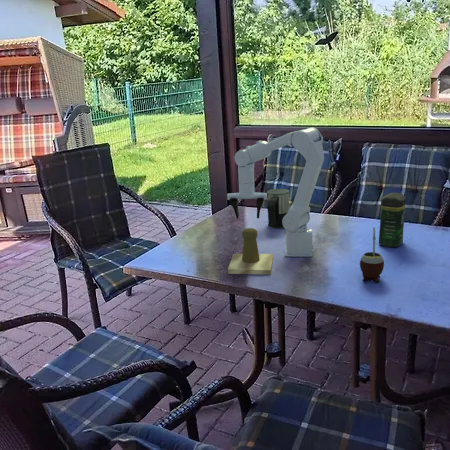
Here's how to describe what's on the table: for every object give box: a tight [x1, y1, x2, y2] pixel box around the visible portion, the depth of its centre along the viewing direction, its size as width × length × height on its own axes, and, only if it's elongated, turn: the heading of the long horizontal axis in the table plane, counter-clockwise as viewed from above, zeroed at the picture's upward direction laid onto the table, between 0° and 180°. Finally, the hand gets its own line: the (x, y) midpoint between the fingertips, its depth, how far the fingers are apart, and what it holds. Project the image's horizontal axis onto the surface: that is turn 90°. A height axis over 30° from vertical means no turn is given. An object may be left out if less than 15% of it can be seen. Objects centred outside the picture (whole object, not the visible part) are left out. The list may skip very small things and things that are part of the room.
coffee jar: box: [378, 192, 407, 248], centre depth 176 cm, size 10×8×19 cm
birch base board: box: [227, 253, 274, 275], centre depth 166 cm, size 14×14×2 cm
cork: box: [241, 227, 260, 263], centre depth 165 cm, size 6×6×11 cm
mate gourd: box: [359, 227, 385, 284], centre depth 149 cm, size 8×8×15 cm
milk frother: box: [266, 188, 290, 229], centre depth 200 cm, size 14×16×15 cm
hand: (247, 217), depth 183 cm, fingers open, 7 cm apart
